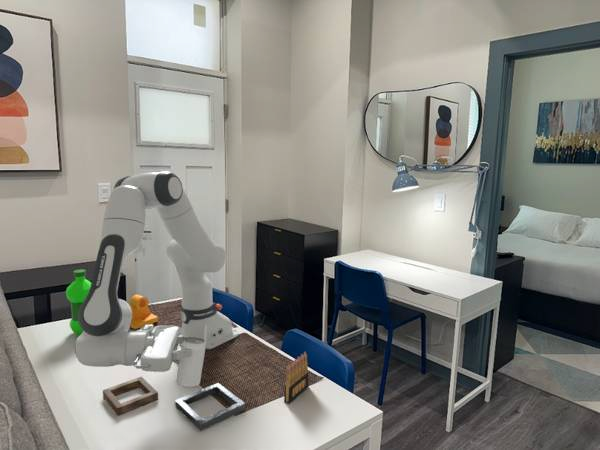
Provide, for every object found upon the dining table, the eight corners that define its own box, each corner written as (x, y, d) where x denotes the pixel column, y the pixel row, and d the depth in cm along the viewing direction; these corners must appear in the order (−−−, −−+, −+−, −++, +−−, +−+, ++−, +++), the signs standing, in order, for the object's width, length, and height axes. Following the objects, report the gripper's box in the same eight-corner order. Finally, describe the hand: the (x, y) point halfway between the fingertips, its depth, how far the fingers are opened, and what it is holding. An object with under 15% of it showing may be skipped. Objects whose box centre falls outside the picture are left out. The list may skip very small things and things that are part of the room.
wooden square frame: (141, 383, 132) (141, 376, 132) (158, 400, 124) (157, 392, 124) (103, 398, 125) (102, 390, 124) (117, 416, 116) (117, 408, 116)
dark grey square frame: (218, 388, 130) (218, 382, 130) (245, 409, 120) (245, 403, 120) (175, 406, 121) (175, 400, 121) (200, 431, 111) (200, 424, 111)
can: (183, 377, 121) (190, 335, 121) (204, 382, 119) (210, 340, 119) (170, 384, 115) (177, 339, 115) (191, 390, 113) (198, 345, 113)
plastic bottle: (103, 326, 173) (99, 267, 168) (91, 338, 162) (86, 275, 158) (78, 326, 172) (73, 267, 168) (64, 338, 162) (59, 275, 157)
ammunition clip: (289, 404, 123) (289, 365, 121) (283, 402, 124) (284, 364, 122) (308, 387, 132) (309, 351, 130) (303, 385, 133) (304, 349, 131)
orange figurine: (135, 331, 169) (133, 302, 167) (125, 326, 174) (123, 298, 172) (158, 322, 178) (157, 295, 176) (148, 318, 182) (147, 291, 180)
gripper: (130, 356, 105) (188, 353, 106) (148, 322, 125) (197, 320, 126) (131, 379, 106) (188, 377, 107) (149, 342, 126) (197, 340, 127)
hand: (193, 346), depth 117 cm, fingers closed on can, 5 cm apart
